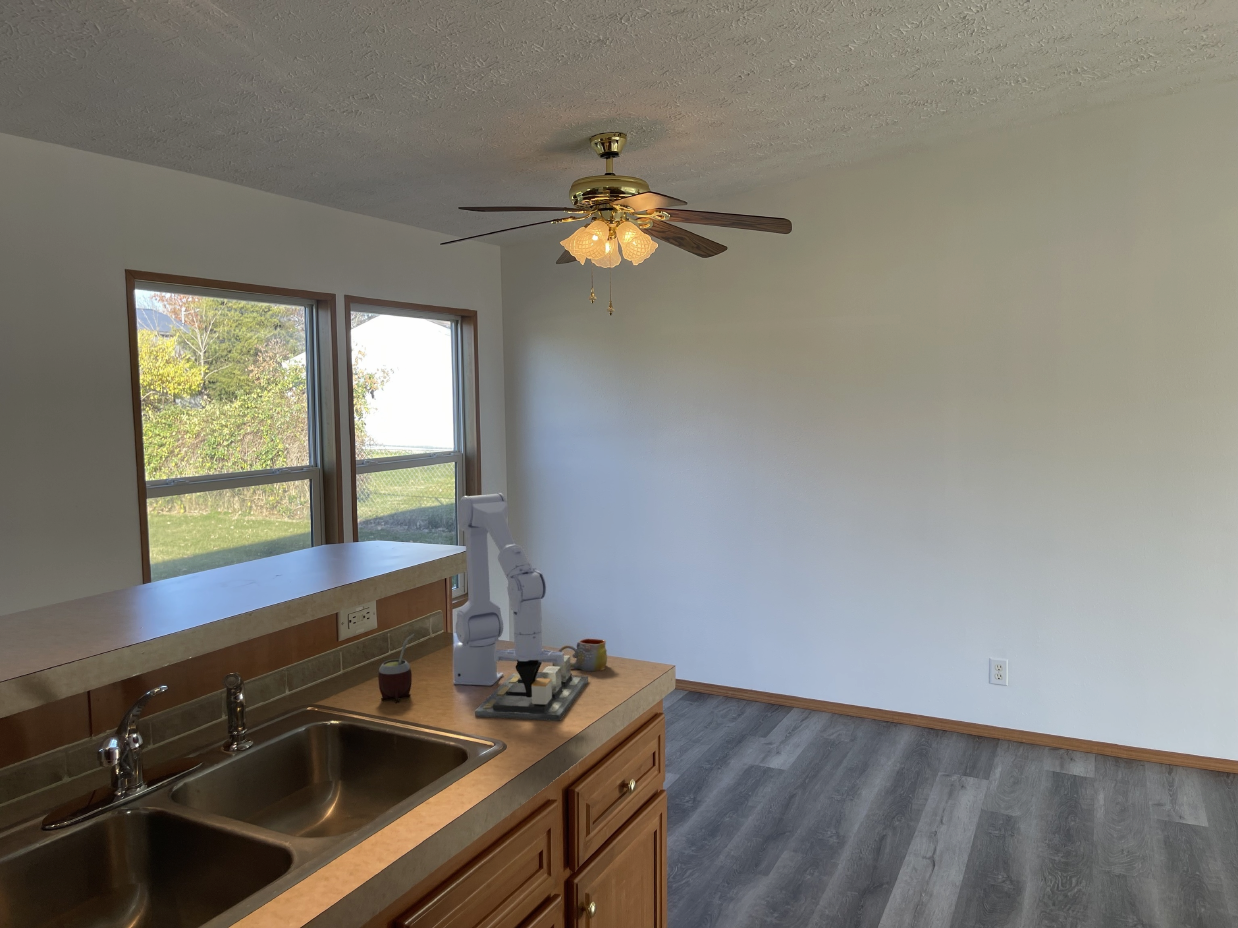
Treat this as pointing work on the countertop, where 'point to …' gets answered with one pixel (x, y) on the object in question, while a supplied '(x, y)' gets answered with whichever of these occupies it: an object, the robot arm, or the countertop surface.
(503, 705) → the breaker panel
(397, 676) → the mate gourd
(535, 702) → the block
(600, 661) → the mug
